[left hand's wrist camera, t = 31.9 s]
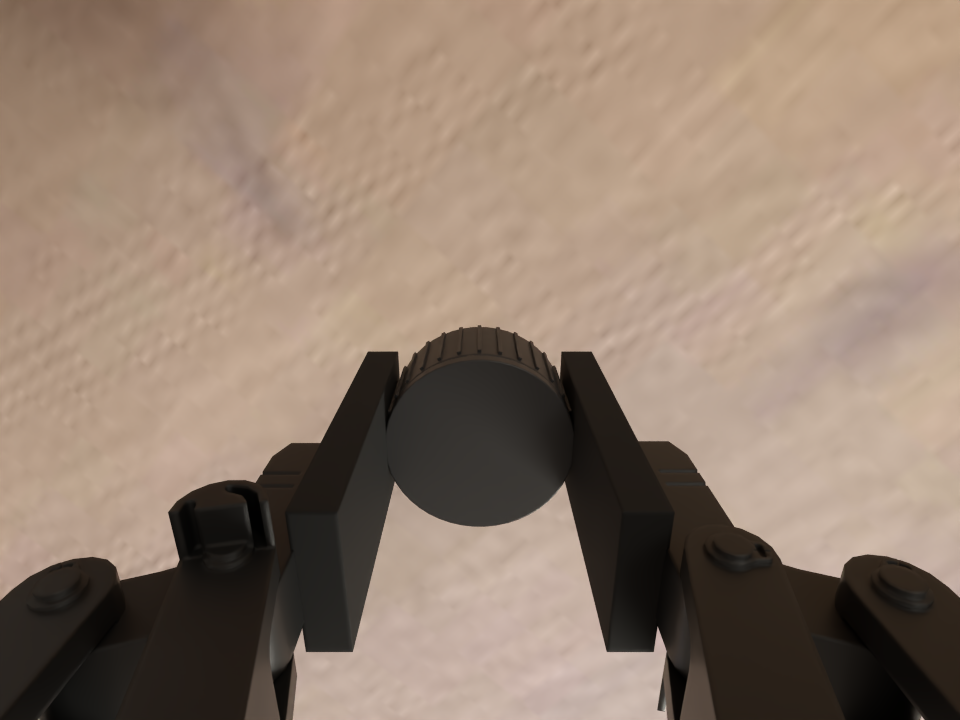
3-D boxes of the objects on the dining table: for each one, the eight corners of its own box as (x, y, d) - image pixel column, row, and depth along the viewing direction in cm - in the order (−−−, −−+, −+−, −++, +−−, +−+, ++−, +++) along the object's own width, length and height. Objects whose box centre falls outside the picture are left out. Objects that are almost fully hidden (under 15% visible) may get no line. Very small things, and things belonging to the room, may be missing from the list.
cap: (582, 450, 15) (598, 501, 13) (429, 492, 16) (421, 548, 13) (537, 301, 14) (547, 331, 11) (370, 353, 14) (350, 392, 12)
